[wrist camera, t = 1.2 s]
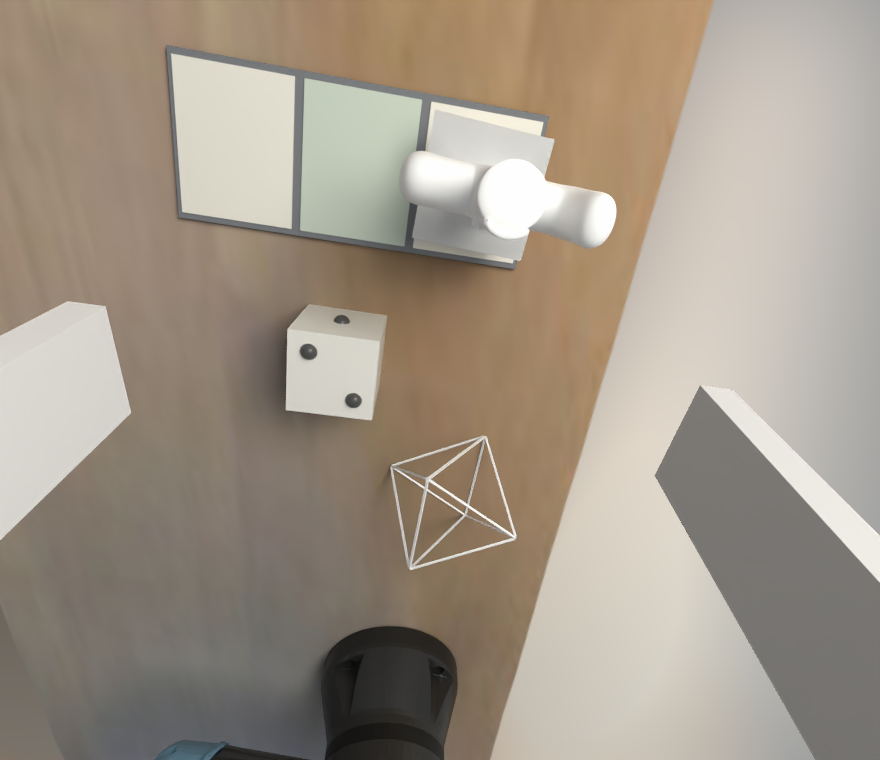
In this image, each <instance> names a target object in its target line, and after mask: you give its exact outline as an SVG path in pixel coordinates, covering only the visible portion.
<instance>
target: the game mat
mask: <svg viewBox="0 0 880 760" xmlns="http://www.w3.org/2000/svg"><path fill="white" fill-rule="evenodd" d="M166 49H167V63H168V77H169V91H170V104H171V118H172V132H173V145H174V159H175V173H176V187H177V200H178V214H179V217H180V218H186V219H193V220H199V221H206V222H212V223H219V224H225V225H232V226H238V227H245V228H251V229H258V230H264V231H271V232H277V233H284V234H290V235H297V236H303V237H310V238H316V239H323V240H329V241H335V242H342V243H348V244H355V245H361V246H368V247H374V248H381V249H387V250H394V251H400V252H407V253H413V254H420V255H426V256H433V257H439V258H446V259H452V260H459V261H465V262H472V263H478V264H484V265H491V266H497V267H504V268H510V269H516V264H517V260H513V259H508V258H504V257H499V256H495V255H490V254H485V253H481V252H476V251H472V250H467V249H462V248H458V247H453V246H449V245H444V244H439V243H435V242H430V241H426V240H421V239H417V238H412V234H413V229H414V223H415V218H416V212H417V207H418V205H415V204H413V203H411V202H409V201H407V200H406V199H405V198H404V197H403V195H402V193H401V190H400V172H401V168H402V165H403V163H404V161H405V159H406V158H407V156H408V155H410V154H411V153H413V152H415V151H426V152H428V147H429V141H430V136H431V130H432V125H433V119H434V114H435V110H439V111H443V112H447V113H451V114H455V115H459V116H463V117H467V118H471V119H475V120H479V121H483V122H487V123H491V124H495V125H499V126H503V127H507V128H511V129H514V130H518V131H522V132H526V133H530V134H534V135H538V136H542V137H545V133H546V128H547V124H548V119H549V116H545V115H540V114H534V113H529V112H524V111H518V110H513V109H507V108H502V107H497V106H491V105H486V104H481V103H475V102H470V101H465V100H459V99H454V98H448V97H443V96H438V95H432V94H427V93H422V92H416V91H411V90H405V89H400V88H395V87H389V86H384V85H379V84H373V83H368V82H362V81H357V80H352V79H346V78H341V77H336V76H330V75H325V74H319V73H314V72H309V71H303V70H298V69H293V68H287V67H282V66H276V65H271V64H266V63H260V62H255V61H250V60H244V59H239V58H233V57H228V56H223V55H217V54H212V53H207V52H201V51H196V50H191V49H185V48H180V47H174V46H169V45H166Z"/></svg>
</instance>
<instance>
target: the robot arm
mask: <svg viewBox="0 0 880 760" xmlns="http://www.w3.org/2000/svg"><path fill="white" fill-rule="evenodd" d="M130 414H131V410H130V406H129V402H128V398H127V394H126V389H125V385H124V381H123V377H122V373H121V369H120V365H119V360H118V356H117V352H116V348H115V344H114V340H113V336H112V331H111V327H110V323H109V319H108V315H107V311H106V307H105V306H99V305H92V304H84V303H77V302H69V301H67V302H65V303H63V304H61V305H60V306H58V307H56V308H54V309H52V310H50V311H48V312H46V313H44V314H42V315H40V316H38V317H36V318H34V319H32V320H30V321H28V322H26V323H24V324H22V325H21V326H19V327H17V328H15V329H13V330H11V331H9V332H7V333H5V334H3V335H1V336H0V540H1V539H2V538H3V537H4V536H5V535H6V534H7V533H8V532H9V531H10V530H11V529H12V528H13V527H14V526H15V525H16V524H17V523H18V522H19V521H20V520H21V519H22V518H23V517H24V516H26V515H27V514H28V513H29V512H30V511H31V510H32V509H33V508H34V507H35V506H36V505H37V504H38V503H39V502H40V501H41V500H42V499H43V498H44V497H45V496H46V495H47V494H48V493H49V492H50V491H51V490H52V489H53V488H54V487H55V486H56V485H57V484H58V483H60V482H61V481H62V480H63V479H64V478H65V477H66V476H67V475H68V474H69V473H70V472H71V471H72V470H73V469H74V468H75V467H76V466H77V465H78V464H79V463H80V462H81V461H82V460H83V459H84V458H85V457H86V456H87V455H88V454H89V453H90V452H91V451H92V450H94V449H95V448H96V447H97V446H98V445H99V444H100V443H101V442H102V441H103V440H104V439H105V438H106V437H107V436H108V435H109V434H110V433H111V432H112V431H113V430H114V429H115V428H116V427H117V426H118V425H119V424H120V423H121V422H122V421H123V420H124V419H125V418H126V417H128V416H129V415H130ZM655 477H656V479H657V480H658V482H659V484H660V485H661V487H662V489H663V491H664V493H665V494H666V496H667V498H668V500H669V502H670V503H671V505H672V507H673V509H674V510H675V512H676V514H677V516H678V517H679V519H680V521H681V523H682V525H683V526H684V528H685V530H686V532H687V533H688V535H689V537H690V539H691V541H692V542H693V544H694V546H695V548H696V549H697V551H698V553H699V555H700V556H701V558H702V560H703V562H704V563H705V565H706V567H707V568H708V571H709V572H710V574H711V576H712V578H713V580H714V581H715V583H716V585H717V586H718V588H719V590H720V592H721V593H722V595H723V597H724V599H725V601H726V602H727V604H728V606H729V608H730V609H731V611H732V613H733V615H734V617H735V618H736V620H737V622H738V624H739V626H740V627H741V629H742V631H743V632H744V634H745V636H746V638H747V640H748V641H749V643H750V645H751V647H752V649H753V650H754V652H755V654H756V655H757V657H758V659H759V661H760V663H761V664H762V666H763V668H764V670H765V672H766V673H767V675H768V677H769V679H770V680H771V682H772V684H773V686H774V687H775V689H776V691H777V693H778V695H779V696H780V698H781V700H782V702H783V703H784V705H785V707H786V709H787V710H788V712H789V714H790V716H791V718H792V719H793V721H794V723H795V725H796V726H797V728H798V730H799V732H800V733H801V735H802V737H803V739H804V741H805V742H806V744H807V746H808V748H809V749H810V751H811V753H812V755H813V757H814V758H815V760H880V536H879V535H878V534H877V533H876V532H875V531H874V530H873V529H872V528H871V527H870V526H869V525H868V524H867V523H866V522H865V521H864V520H863V519H862V518H861V517H860V516H859V515H858V514H857V513H856V512H855V511H854V510H853V509H852V508H851V507H850V506H849V505H848V504H847V503H846V502H845V501H844V500H843V499H842V498H841V497H840V496H839V495H838V494H837V493H836V492H835V491H834V490H833V489H832V488H831V487H830V486H829V485H828V484H827V483H826V482H825V481H824V480H823V479H822V478H821V477H820V476H819V475H818V474H817V473H816V472H815V471H814V470H813V469H812V468H811V467H810V466H809V465H808V464H807V463H805V461H804V460H803V459H802V458H800V456H799V455H798V454H797V453H796V452H795V451H794V450H793V449H792V448H791V447H790V446H789V445H788V444H787V443H786V442H785V441H784V440H782V438H780V436H778V435H777V434H776V433H775V432H774V431H773V430H772V429H771V428H770V427H769V426H768V425H767V424H766V423H765V422H764V421H763V420H762V419H761V418H760V417H759V416H758V415H757V414H756V413H755V412H754V411H753V410H752V409H751V408H750V407H749V406H748V405H747V404H746V403H745V402H744V401H743V400H742V399H741V398H740V397H739V396H738V395H737V394H736V393H735V392H734V391H733V390H732V389H724V388H716V387H708V386H700V387H699V389H698V391H697V393H696V395H695V397H694V399H693V401H692V403H691V405H690V407H689V409H688V411H687V413H686V415H685V417H684V419H683V421H682V423H681V425H680V426H679V429H678V430H677V432H676V434H675V436H674V438H673V440H672V442H671V445H670V446H669V448H668V450H667V452H666V455H665V457H664V458H663V460H662V463H661V464H660V466H659V468H658V470H657V472H656V474H655ZM457 687H458V683H457V667H456V662H455V659H454V657H453V655H452V653H451V652H450V650H449V649H448V648H447V647H446V646H445V645H444V644H443V643H442V642H440V641H439V640H437V639H436V638H434V637H432V636H430V635H428V634H426V633H423V632H420V631H417V630H413V629H408V628H401V627H380V628H373V629H368V630H364V631H361V632H358V633H355V634H353V635H351V636H349V637H347V638H345V639H344V640H342V641H341V642H340V643H338V644H337V645H336V646H335V647H334V648H333V649H332V651H331V652H330V653H329V655H328V657H327V659H326V663H325V667H324V672H323V677H322V683H321V693H322V702H323V711H324V720H325V729H326V738H327V748H326V755H325V760H444V744H445V740H446V736H447V732H448V728H449V724H450V720H451V716H452V712H453V708H454V704H455V700H456V695H457ZM155 760H308V759H302V758H296V757H291V756H285V755H279V754H274V753H268V752H262V751H257V750H251V749H246V748H240V747H235V746H230V745H229V743H227V742H220V743H219V744H218V743H208V742H199V741H189V740H183V741H179V742H176V743H174V744H172V745H170V746H169V747H167V748H166V749H165V750H163V751H162V752H161V753H160V754H159V755H158V756H157V758H156V759H155Z"/></svg>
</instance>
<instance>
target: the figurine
mask: <svg viewBox="0 0 880 760" xmlns="http://www.w3.org/2000/svg"><path fill="white" fill-rule="evenodd" d="M554 141H555V140H554V139H550V138H546V137H542V136H538V135H534V134H530V133H526V132H522V131H518V130H514V129H511V128H507V127H503V126H499V125H495V124H491V123H487V122H483V121H479V120H475V119H471V118H467V117H463V116H459V115H455V114H451V113H447V112H443V111H439V110H435V114H434V119H433V125H432V130H431V136H430V141H429V147H428V152H426V151H415V152H413V153H411V154H410V155H408V156H407V158H406V159H405V161H404V163H403V165H402V168H401V172H400V190H401V193H402V195H403V197H404V198H405V199H406V200H407V201H409V202H411V203H413V204H415V205H418V207H417V212H416V218H415V223H414V229H413V234H412V238H417V239H421V240H426V241H430V242H435V243H439V244H444V245H449V246H453V247H458V248H462V249H467V250H472V251H476V252H481V253H485V254H490V255H495V256H499V257H504V258H508V259H513V260H517V261H521V258H522V254H523V251H524V247H525V244H526V240H527V237H528V233H529V230H532V231H536V232H541V233H545V234H548V235H551V236H554V237H557V238H560V239H563V240H566V241H569V242H572V243H575V244H577V245H579V246H581V247H584V248H595V247H597V246H599V245H601V244H602V243H603V242H604V241H605V240H606V239H607V237H608V236H609V234H610V233H611V231H612V228H613V226H614V223H615V218H616V205H615V202H614V200H613V199H612V197H611V196H609V195H608V194H606V193H604V192H598V191H592V190H587V189H583V188H579V187H574V186H567V185H561V184H556V183H552V182H548V181H545V179H544V176H545V173H546V169H547V166H548V162H549V159H550V155H551V152H552V148H553V144H554Z"/></svg>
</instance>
